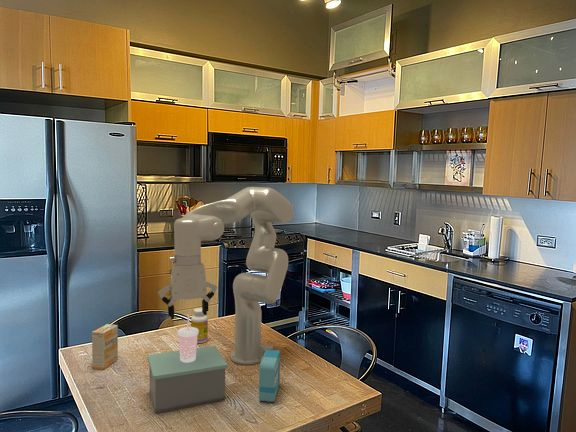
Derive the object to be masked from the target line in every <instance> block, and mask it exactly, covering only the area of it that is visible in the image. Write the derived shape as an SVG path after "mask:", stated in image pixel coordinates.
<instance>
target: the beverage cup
mask: <svg viewBox="0 0 576 432" xmlns="http://www.w3.org/2000/svg"><path fill="white" fill-rule="evenodd" d="M198 332H199V330H198V329H197V328H195V327H191V326H190V314H188V313H187V326H185V327H184V326H183V327H181V328H180V329H178V330H177V336H178V344H179V350H180V361H182V362H185V363H189V362H193V361H195V359H196V349H197V348H198V347H197V346H198V343H197V336H198Z"/></svg>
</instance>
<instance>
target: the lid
mask: <svg viewBox="0 0 576 432" xmlns="http://www.w3.org/2000/svg"><path fill="white" fill-rule="evenodd" d="M147 361H148V366H149V370H150V369H151V373H152V377H153V380H156V379H162V378H168V377H174V376H180V375H186V374H193V373H199V372H205V371H211V370H217V369H224V368H225V369H228V367H229V366H228V365H229V364H228V362H227V361H226V360H225V358H224V357H223V355H222V354H221V352H220V350H219V348H217V346H216V345H209V346H203V347H197V349H196V359H195V361H193V362H189V363H185V362H182V361H180V349H179V350H173V351H167V352H166V351H165V352H159V353H152V354H147Z"/></svg>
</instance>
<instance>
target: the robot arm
mask: <svg viewBox="0 0 576 432" xmlns="http://www.w3.org/2000/svg"><path fill="white" fill-rule="evenodd" d="M248 215H250V216H251V219H252V222H253V225H254V226H253V227H254V233H253V239H252V241H251V244H250V247H249V250H248V253H247V256H246V261H245V266H246V267H247V268H248V269H249V270H251V271H253V272H258V273H262V274H263V273H265V274H267V275H264V274H263V275H262V274H258V273H253V272H252V273H251V272H242V273H239V274H238V275H236V276H235V278H234V279H233V283H232V290H233V291H232V292H233V297H234V306H235V307H234V309H235V315H234V316H235V318H234V322H235V324H234V350H233V351H232V352H231V353H230V356H229V357H230V360H231V361H232V362H234V363H235V364H239V365H255V364H258V363H259V364H260V363H261V360H262V358H263V356H264V354H265V351H266V350H274V346H273V345H271V344H270V345H268V344H267V343H265V344H262V343H261V341H262V339H261V338H262V308H261V305H260V304H261V303H263V304H267V305H268V304H269V305H270V304H271V305H272V304H274V303H276V301H277V300H278V298H279V297H280V293H281V290H282V287H283V284H284V280H285V279H286V275H287V271H288V269H289V268H288V266H289V256H288V253H287V252H286V251H285V250H284V249H281V248H278V247H277V248H276V247H275V245H276V241H277V233H276V230H275V228H274V226H273V224H272V223H276V224H287V223H289V222H290V221H291V220H292V219H293V216H294V207H293V205H292V203H291V201H289V200H288V199H287V198H286V197H285V196H283V195H282V194H281V193H280V192H279V191H277V190H276V189H274V188H272V187H263V186H261V187H260V186H247V187H245V188H243V189H241V190H240V191H238V192H236V193H235V194H234V193H233V195H230V196H229V197H227V198H225V199H221V200H218V201H213V202H210V203H207V204H204V205H200V206H198V207H195V208H193V209H192V210H190V211H188V212H187V213H185V214H184V215H183V216H182V217H181V218H177V219H175V221H174V223H173V225H174V226H173V227H174V229H173V233H174V235H173V236H174V237H173V238H174V240H173V241H174V253H173V256H172V257H171V256H170V257H169V262H170V263H173V264H172V267H171V273H170V284H168V285H167V286H165V287H163V288H161V289H160V290H158V291H157V294H158V296H159V297H160V299H161V301H162V302H163V303H165V304H166V305H167V309H168V310H167V314H168V315H167V316H169V317H170V320H174V319H175V306H174V304H175V302H176V301H186V300H193V299H194V300H195V299H202V300H201V308H202V312H203V314H204V315H206V316H207V315H208V312H209V303H210V301H211V299H212V298H213V297H214V295H215V293H216V291H217V290H218V286H217V285H215V284H213V283H211V282H208V281H207V277H206V270H205V264H204V263H203V262H201V261H202V259H201V258H202V255H201V252H202V251H201V250H202V249H201V248H202V246H201V245H202V241H203V242H204V241H215V240H218V239H219V238H220V237H221V236H223V234H224V231H225V225H228V224H233V223H238V222H240V221H242V219H244V218H245V217H247V216H248ZM208 288H210V291H209V292H208ZM168 292H170V296H169V298H168V297H167V296H166V295H165V294H166V293H168Z"/></svg>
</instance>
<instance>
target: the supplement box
mask: <svg viewBox="0 0 576 432" xmlns="http://www.w3.org/2000/svg"><path fill="white" fill-rule="evenodd" d="M118 328H119V326H118V324H110V323H107V324H104V325H103V326H101V327H99V328H96V329H95V330H93V331H92V332H91V355H92V356H91V363H92V365H91V367H92V369H94V370H95V369H96V370H101V371H104V370H105V369H107V368H108V367H109V366H111V365H112V364H114V363H115V362H117V361H118V359H119V358H118V357H119V355H118V353H119V352H118V351H119V350H118V349H119V348H118V346H119V344H118V343H119V338H118V337H119V334H118V333H119V332H118V331H119V329H118Z"/></svg>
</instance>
